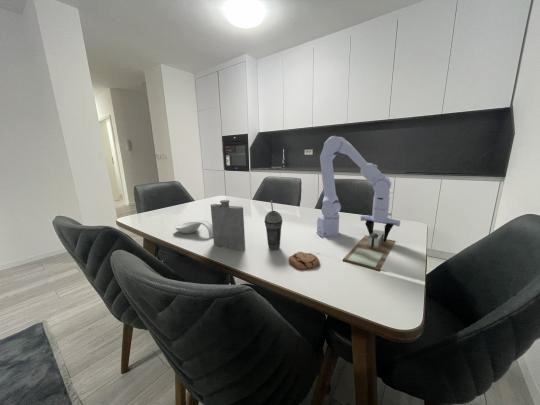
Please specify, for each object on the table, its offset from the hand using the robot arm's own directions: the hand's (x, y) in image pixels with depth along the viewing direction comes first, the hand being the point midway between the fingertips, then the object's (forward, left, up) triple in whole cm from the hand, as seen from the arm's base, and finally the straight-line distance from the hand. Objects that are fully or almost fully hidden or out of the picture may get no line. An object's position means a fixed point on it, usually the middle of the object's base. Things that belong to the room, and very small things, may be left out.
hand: (378, 239), depth 92 cm
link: (-3, -2, -1) cm, 4 cm away
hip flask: (-61, +15, -2) cm, 63 cm away
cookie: (-36, -7, -2) cm, 37 cm away
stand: (-8, -6, -2) cm, 10 cm away
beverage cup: (-43, +8, -2) cm, 43 cm away
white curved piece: (-76, +36, -2) cm, 84 cm away
